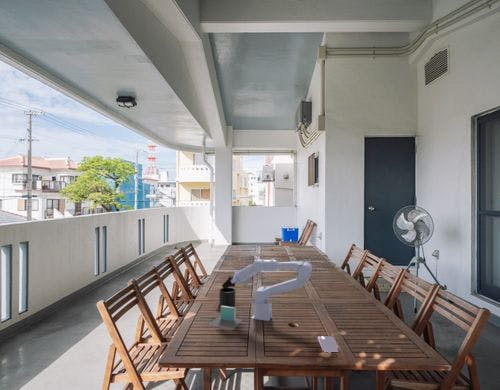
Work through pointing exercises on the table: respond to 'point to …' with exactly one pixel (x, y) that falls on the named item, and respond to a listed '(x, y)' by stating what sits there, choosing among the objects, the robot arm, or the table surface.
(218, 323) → the mat
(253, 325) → the table surface
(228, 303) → the mug
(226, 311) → the tile
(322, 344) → the mobile phone
